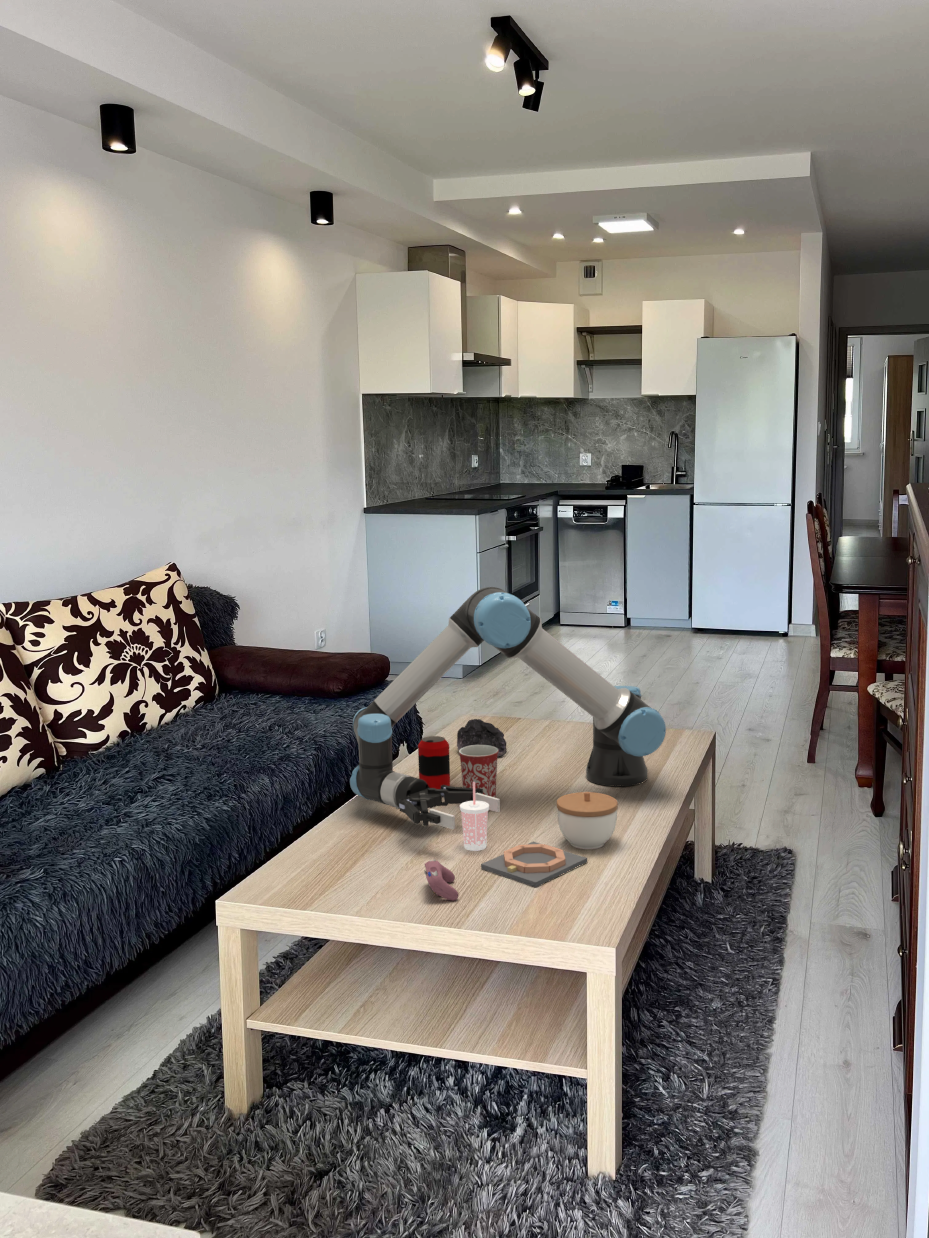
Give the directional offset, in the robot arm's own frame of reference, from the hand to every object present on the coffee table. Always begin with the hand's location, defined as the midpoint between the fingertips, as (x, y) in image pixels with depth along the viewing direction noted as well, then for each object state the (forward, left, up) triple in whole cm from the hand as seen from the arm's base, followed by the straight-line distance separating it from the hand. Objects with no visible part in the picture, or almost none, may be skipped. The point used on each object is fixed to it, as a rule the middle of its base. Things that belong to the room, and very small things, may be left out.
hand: (476, 813), depth 224 cm
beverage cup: (0, -1, -8) cm, 8 cm away
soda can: (-23, -36, -8) cm, 43 cm away
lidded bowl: (-17, +16, -8) cm, 24 cm away
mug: (-21, -18, -8) cm, 29 cm away
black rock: (-52, -46, -8) cm, 70 cm away
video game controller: (+21, +10, -8) cm, 24 cm away
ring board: (0, +15, -7) cm, 17 cm away
